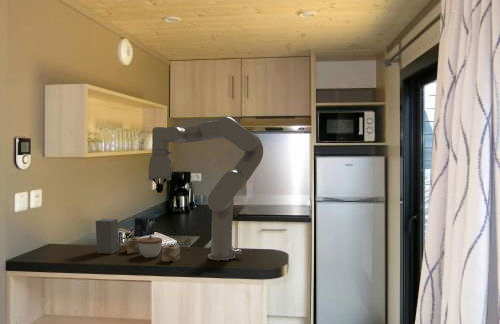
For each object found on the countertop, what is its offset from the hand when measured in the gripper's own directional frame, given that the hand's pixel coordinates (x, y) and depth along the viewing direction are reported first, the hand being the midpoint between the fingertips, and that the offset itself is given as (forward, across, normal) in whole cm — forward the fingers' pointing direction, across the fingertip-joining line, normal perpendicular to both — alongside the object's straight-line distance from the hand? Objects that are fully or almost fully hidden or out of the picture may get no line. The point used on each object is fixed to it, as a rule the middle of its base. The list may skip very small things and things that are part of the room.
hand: (159, 192), depth 193 cm
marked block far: (+29, +13, -4) cm, 32 cm away
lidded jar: (+29, +3, +4) cm, 30 cm away
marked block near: (+29, -8, +10) cm, 32 cm away
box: (+29, +20, -47) cm, 59 cm away
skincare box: (+29, +25, -1) cm, 39 cm away
